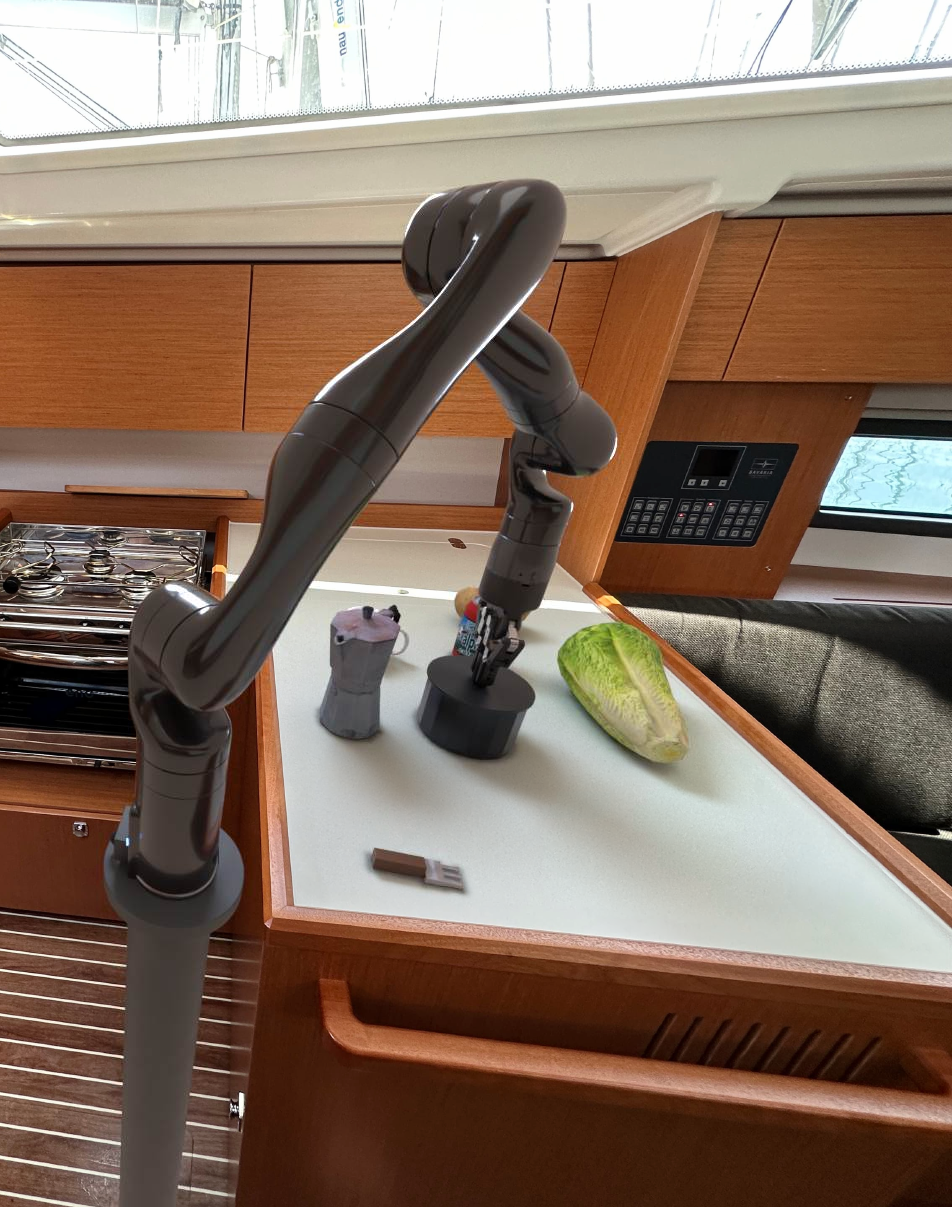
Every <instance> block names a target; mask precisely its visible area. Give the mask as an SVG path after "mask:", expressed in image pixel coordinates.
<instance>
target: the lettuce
mask: <svg viewBox="0 0 952 1207" xmlns="http://www.w3.org/2000/svg"><path fill="white" fill-rule="evenodd" d="M556 661H557V665H558V669H559V673H560V676H561V677H562V679H563V680H564V681H565V683H566V685H567V686H568V688H569V690H570V691H571V693H572V694H573V696H575V698H576V699H577V700H578V701H579V702H580V704H581V705H582V706H583V708H584V709H585V710H586V712H588V714H589V715H590V716H591V717H592V718H593V720H595V721H596V722H597V723H598V724H599V725H600V726H601V728H603V730H605V732H606V733H607V734H608V735H609V736H611V737H612V738H613V739H615V740H616V741H617V742H619V743H620V744H622V745H623V746H625V747H626V748H627V749H629V750H631V751H632V752H634V753H636V754H637V755H639V756H641V757H643V758H645V759H647V760H650V761H652V762H653V763H654V762H655V763H664V764H670V763H675V762H677V761H680V760H683V759H685V756H686V755H687V753H688V752H689V750H690V745H691V740H690V735H689V732H688V728H687V725H686V721H685V719H684V716H683V713H682V711H681V709H680V706H679V704H678V702H677V700H676V699H675V697H674V693H673V691H672V688H671V684H670V682H669V679H668V677H667V674H666V671H665V667H664V656H663V653H662V651H661V649H660V647H659V645H658V643H656V642H655V641H654V640H653V639H652V638H651V637H650V636H648V634H646V633H644V632H643V631H642V630H640V629H639V628H637V626H636V627H635V626H633V625H631V624H629V623H626V622H624V621H613V622H612V621H611V622H601V623H596V624H594V625H593V624H592V625H590V626H585V627H582V628H581V629H579V630H578V631H576V632H574V634H572V635H570V636H569V637H568V638H567V639H566V640H565V641H564V642H563V644H562V645H561V646H560V648H559V649H558V651H557V658H556Z"/></svg>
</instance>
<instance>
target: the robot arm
mask: <svg viewBox="0 0 952 1207" xmlns="http://www.w3.org/2000/svg"><path fill="white" fill-rule="evenodd" d="M567 219H568V206H567V200H566V197H565V195H564V193H563V191H562V189H561V188H559V186H558V185H556V184H555V183H554V182H551V181H550V180H547V179H542V178H530V177H525V178H524V177H520V178H519V177H518V178H510V179H506V180H497V181H491V182H484V183H483V182H482V183H478V184H468V185H462V186H458V187H453V188H449V189H444V190H441V191H438V192H436V193H435V194H433V195H431V196H430V197H428V198H426V199H425V201H423V202H422V203H421V204H420V205H419V207H418V208H417V209H416V210H415V212H414V213H413V215H412V217H410V220H409V222H408V224H407V227H406V230H405V233H404V234H403V239H402V245H401V253H400V254H401V255H400V256H401V257H400V260H401V261H400V262H401V270H402V274H403V277H404V280H405V283H406V285H407V287H408V289H409V290H410V292H411V293H412V295H413V297H414V298H415V299H416V300H417V301H418V302H419V304H420V305H421V307H423V308H424V310H423V311H422V312H421V313H420V314H419V315H418V316H417V317H416V318H415V319H413V320H412V321H411V322H410V323H409V324H407V325H406V326H405V327H404V328H402V329H401V330H399V331H398V332H397V333H395V334H394V335H393V336H391V337H389V338H388V339H387V340H384V341H383V342H381V343H380V344H379V345H377V346H376V347H374V348H373V349H371V350H370V351H368V352H366V353H365V354H364V355H362V356H361V357H359V358H358V359H357V360H355V361H354V362H352V363H350V364H349V365H348V366H346V367H344V369H342V370H341V371H340V372H338V373H337V374H336V375H335V376H334V377H331V379H329V380H328V381H327V382H326V383H325V384H324V385H323V386H322V387H321V388H320V389H318V391H317V392H316V393H315V395H314V396H313V397H312V398H311V400H310V401H309V402H308V403H307V405H305V408H304V409H303V411H302V412H301V413H300V415H299V416H298V418H297V419H296V420H295V422H294V423H293V424H292V426H291V427H290V429H289V430H288V432H286V435H285V436H284V437H283V439H282V440H281V442H280V443H279V445H278V446H277V448H276V449H275V452H274V454H273V457H272V459H271V461H270V465H269V469H268V473H267V478H266V483H265V484H266V485H265V489H264V496H263V497H264V498H263V505H262V515H261V521H260V527H259V532H258V535H257V539H256V542H255V546H254V548H253V550H252V553H251V555H250V557H249V559H248V560H247V562H246V563H245V566H244V567H243V569H242V571H241V572H240V573H239V575H238V577H237V579H235V581H234V583H233V584H232V585H231V587H230V588H229V590H228V591H227V593H226V594H225V595H224V597H223V598H222V599H220V598H219V597H217V596H215V595H214V594H212V593H211V592H209V591H208V590H206V589H205V588H203V587H201V586H200V585H198V584H196V583H193V582H190V581H186V580H172V581H168V582H165V583H162V584H160V585H159V586H157V587H155V588H154V589H152V590H151V591H150V592H149V593H148V594H147V595H146V596H144V598H143V600H141V602H140V604H139V605H138V607H137V609H136V610H135V612H134V615H133V617H132V620H131V624H130V628H129V632H128V638H127V639H128V640H127V684H128V688H127V689H128V707H129V714H130V717H131V720H132V723H133V725H134V729H135V732H136V735H135V736H136V741H135V742H136V746H135V747H136V748H135V774H134V777H135V778H134V797H133V800H132V802H131V806H130V805H125V807H124V809H123V812H122V815H121V818H120V821H119V823H118V827H117V829H115V830H114V831H113V832H112V831H111V833H110V834H109V842H110V841H111V843H112V844H113V845H114V860H119V861H124V862H128V864H127V877H128V878H131V879H135V880H137V881H138V883H139V884H140V885H141V886H142V887H143V888H144V889H145V890H146V891H148V892H149V893H151V894H153V895H155V896H157V897H159V898H162V899H166V900H174V901H179V900H187V899H191V898H194V897H196V896H198V895H200V894H201V893H203V892H204V891H205V890H206V889H207V888H208V887H209V886H210V885H211V883H212V882H213V880H214V877H215V874H216V867H217V852H218V867H219V836H220V828H221V829H222V819H223V811H224V803H225V795H226V794H225V793H226V786H227V779H228V778H227V777H228V776H227V775H228V769H229V760H230V754H231V753H230V752H231V746H232V736H233V727H232V721H231V718H230V716H229V713H228V711H227V710H226V708H225V707H227V706H230V705H231V704H232V703H233V702H234V701H235V700H237V698H238V697H240V695H242V694H243V692H244V691H246V689H247V688H248V687H249V685H250V684H251V683H252V682H253V680H255V678H256V676H257V675H258V674H259V672H260V670H261V669H262V667H263V666H264V664H265V663H266V660H267V659H268V658H269V657H270V654H271V652H272V651H273V649H274V647H275V646H276V644H277V642H278V640H279V639H280V637H281V635H282V633H283V632H284V630H285V628H286V627H287V625H288V623H289V621H290V620H291V618H292V616H293V615H294V613H295V611H296V609H297V608H298V607H299V604H300V603H301V601H302V600H303V598H304V596H305V594H306V592H308V589H309V588H310V586H311V585H312V583H313V582H314V580H315V579H316V577H317V576H318V575H319V573H320V571H321V570H322V568H324V565H325V564H326V563H327V561H328V560H329V558H330V556H331V555H332V554H333V552H334V550H336V548H337V546H338V545H339V543H340V542H341V541H342V539H343V538H344V536H345V535H346V534H347V532H349V531H348V530H349V529H350V528H351V527H352V525H353V523H354V522H355V521H356V520H357V519H358V517H359V516H360V514H361V513H362V512H363V511H364V509H365V508H366V507H367V506H368V505H369V503H370V502H371V501H372V499H373V498H374V497H375V496H376V494H377V493H378V491H379V489H380V488H381V487H382V486H383V484H384V483H385V481H386V480H387V479H388V477H389V476H390V474H391V473H392V472H393V471H394V469H395V468H396V466H397V465H398V464H399V462H400V460H401V459H402V457H403V456H404V454H405V453H406V452H407V450H408V449H409V447H410V446H411V444H412V442H413V441H414V439H415V438H416V437H417V435H418V434H419V433H420V431H421V430H422V428H423V427H424V425H425V424H426V423H427V422H428V421H429V419H430V417H431V416H432V415H433V414H434V412H435V411H436V409H437V408H438V407H439V406H440V404H441V403H442V401H443V400H444V399H445V397H446V396H447V395H448V394H449V392H451V390H452V388H454V386H455V385H456V383H457V382H458V381H459V379H461V377H462V376H463V374H464V373H465V372H466V371H467V370H468V368H469V367H470V366H471V365H472V364H473V363H474V364H475V365H476V366H477V368H478V370H480V371H481V373H482V374H483V375H484V377H485V379H486V380H487V382H488V383H489V385H490V386H491V388H492V390H493V391H494V393H495V395H496V397H497V399H498V401H499V403H500V405H501V407H502V409H503V410H504V412H505V414H506V416H507V418H508V420H509V421H510V423H511V424H512V426H514V427H515V428H514V430H513V432H512V435H511V438H510V441H509V447H508V448H509V451H508V500H507V505H506V507H505V511H504V513H503V517H502V520H501V522H500V526H499V530H498V532H497V534H496V537H495V539H494V541H493V543H492V545H491V548H490V551H489V555H488V557H487V560H486V564H485V567H484V570H483V574H482V577H481V580H480V583H479V586H478V588H479V589H478V594H479V596H480V597H481V598H480V599H479V601H478V610H477V617H476V624H475V631H474V638H476V639H477V641H476V648H478V649H477V650H476V653H475V656H474V659H473V662H472V665H471V671H472V672H473V670H474V667H475V664H476V661H477V658H478V655H479V652H480V651H483V650H485V651H484V655H483V658H482V659H483V660H482V661H481V664H480V667H479V670H478V673H477V676H476V682H477V684H479V685H486V686H491V685H493V684H494V681H495V678H496V675H497V672H498V670H499V667H504V668H508V669H510V666H511V665H512V664H513V663H514V661H515V660H516V659H517V657H519V655H520V654H521V653H522V651H523V650H524V648H525V646H526V641H525V640H524V639H520V638H518V633H520V632H521V628H522V625H523V621H522V615H523V614H524V613H526V612H529V611H531V612H533V611H536V610H537V609H539V608H540V606H541V605H542V602H543V599H544V596H545V593H546V592H547V589H548V586H549V583H550V580H551V577H552V575H553V572H554V569H555V567H556V564H557V561H558V557H559V552H560V547H561V544H562V542H563V538H564V536H565V533H566V530H567V528H568V524H569V522H570V520H571V517H572V514H573V510H574V502H573V500H572V498H571V497H570V496H568V495H566V493H563V492H562V491H560V490H558V489H556V488H555V487H554V486H552V485H551V484H550V483H549V480H548V476H547V472H548V473H552V474H557V475H561V476H565V477H570V478H577V479H580V478H586V477H590V476H593V475H595V474H597V473H599V472H600V471H602V470H603V469H604V468H605V467H606V466H607V465H609V463H610V462H611V460H612V459H613V457H614V455H615V453H616V450H617V445H618V433H617V427H616V425H615V422H614V420H613V418H612V417H611V416H610V415H609V413H608V412H607V411H606V409H605V408H603V407H602V406H601V404H599V403H598V401H596V400H595V399H594V398H593V397H592V395H590V394H589V393H588V392H587V391H585V390H584V389H583V388H582V387H581V385H580V382H579V379H578V377H577V373H576V372H575V369H574V365H573V364H572V361H571V359H570V357H569V354H568V353H567V351H566V350H565V348H564V347H563V345H562V344H561V343H560V342H559V341H558V340H557V339H556V337H554V335H552V334H551V333H550V332H549V331H548V330H546V328H544V327H543V326H542V325H541V324H539V323H538V322H536V321H535V320H534V319H533V318H532V317H530V316H529V315H527V314H526V313H525V312H523V311H522V310H521V308H522V307H523V305H525V303H526V302H527V301H528V299H529V298H530V297H531V296H532V295H533V294H534V292H535V291H536V289H537V288H538V286H539V285H540V283H541V282H542V280H543V279H544V277H545V276H546V275H547V273H548V271H549V269H550V268H551V266H552V264H553V262H554V260H555V258H556V256H557V253H558V251H559V248H560V246H561V244H562V242H563V238H564V235H565V234H564V233H565V230H566V226H567ZM492 650H493V651H492ZM491 652H492V653H491Z"/></svg>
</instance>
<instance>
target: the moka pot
mask: <svg viewBox="0 0 952 1207" xmlns="http://www.w3.org/2000/svg"><path fill="white" fill-rule="evenodd" d="M362 607H363V608H362V609H354V610H348V609H347V610H348V611H347V610H342V611H337V612H336V614H335V615H334V617H333V619H332V620H331V621H330V624H329V635H330V636H329V667H330V668H331V669H330V676H329V679H328V683H327V684H326V685H327V686H326V688H325V692H324V694H323V698H322V701H321V704H320V708H319V721H320V722H321V724H322V725H323V726H324V727H325V729H327V730H328V731H329V732H331V733H333V734H335V735H338V736H340V737H344V738H348V739H364V738H369V737H371V736H372V735H374V734H375V733H376V732H378V730H379V729H380V724H381V722H380V721H381V719H380V718H381V685H382V682H383V678H384V675H385V672H386V670H387V667H388V664H389V662H390V659H391V656H392V655H391V653H392V651H394V647H395V646H396V643H397V640H398V637H399V634H400V632H399V631H400V628H402V627H401V626H400V624H399V623H400V619H401V617H402V615H401V613H400V610H399V609H398V606H397V605H396V604H392V605H391V606H389V607H388V608H382V609H380V610H379V612H373V611H374V609H375V608H374V607H373V606H370V605H364V606H362Z"/></svg>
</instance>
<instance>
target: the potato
mask: <svg viewBox="0 0 952 1207" xmlns="http://www.w3.org/2000/svg"><path fill="white" fill-rule="evenodd" d="M478 589H479V587H476V586H474V587H473V586H468V587H463V588H462V589H460V590H459V591H458V592H457V593H456V594H455V597H454V599H453V600H454V602H453V603H454V605H453V606H454V610H455V612H456V614H457V615H458V617H460V619H462V618H463V615H464V611H465V608H466V605H467V604H468V603H469V602H470V601H471V600H473V598H474V597H475V596H478V595H479V594H478ZM531 613H532V611H529V612H526V613H524V614H523V615H522V622H525V620H526V619H527V617H528V616H529V615H530V614H531Z"/></svg>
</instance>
